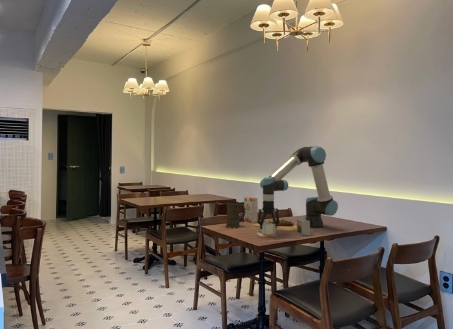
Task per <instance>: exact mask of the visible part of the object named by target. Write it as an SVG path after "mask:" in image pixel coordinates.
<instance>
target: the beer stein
mask: <svg viewBox="0 0 453 329" xmlns="http://www.w3.org/2000/svg"><path fill="white" fill-rule="evenodd" d="M240 208H241V209H242V214H241V216H240ZM244 216H245V207H244V203H241V204H240V202H239V201H232V200H231V201H230V200H229V201H226V222H225V223H226V224H225V227H226V228H229V227H237V228H240V227H239V226H241V224H240V223H244V222H245V220H244Z"/></svg>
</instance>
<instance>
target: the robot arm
mask: <svg viewBox="0 0 453 329" xmlns="http://www.w3.org/2000/svg"><path fill="white" fill-rule="evenodd" d="M326 157H327V152H326V151H325V149H324V148H323V147H321V146H318V145H315V146H314V145H313V146H302V147H299V149H296V151H294V152H293V153H292V154H291V155H290V156H289V158H288V159H287V160H286V161H285V162H284V163H283V164H282V165H280V166H279V167H278V168H277V169H275V171H274V172H273V173H272V174H270V175H269V176H267V177H263V178H262V179H261V180H260V182H259V186H260V188H261V189H262V208H258V221H257V223H256V224H260V229H261V234H262V235H264V225H263V222H264V221H265V219H266V216H267V215H270V216H271V219H273V222H274V224H273V234H275V235H276V230H278V229H277V224H278V223H279V220H280V217H279V208H275V201H274V200H275V192H281V191H282V192H283V191H287V190H288V189H289V182H288V181H287V180H286V179H283V178H284V177H286V176H287V175H288V174H289V173H290V172H291V171H292V170H293V169H295V168H296V167H297V166H301V164H303V163H307V165H308V167H309V168H310V169H311V172H312V177H313V181H314V184H315V188H316V193H317V195H318V196H311V197H310V196H309V197H306V199H305V218H304V219H305V220H308V221H310V229H311V228H312V229H313V228H315V229H317V228H323V227H324V220H323V218H322V215H324V216H329V217H331V216H334V215H335V214H336V213H337V212H338V209H339V203H338V202H337V201H336V200H335V199H334V197H333V195H331V193H330V190H329V185H328V181H327V177H326V173H325V168H324V164H325V161H326ZM262 212H263V213H262ZM274 213H275V214H274Z"/></svg>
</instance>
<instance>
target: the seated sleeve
mask: <svg viewBox="0 0 453 329" xmlns="http://www.w3.org/2000/svg"><path fill="white" fill-rule="evenodd" d="M264 223H269V222H268V221H267V220H264V222H263V225H264ZM258 228H259V229H258V232H259V233H261V229H260V224H259V227H258Z"/></svg>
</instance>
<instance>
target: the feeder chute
mask: <svg viewBox="0 0 453 329" xmlns="http://www.w3.org/2000/svg"><path fill="white" fill-rule="evenodd" d="M296 225H297V231H296V234H297V235H299V236H302V237H305V236H310V235H311V227H310V221H308V220H305V218H304V219H296Z"/></svg>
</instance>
